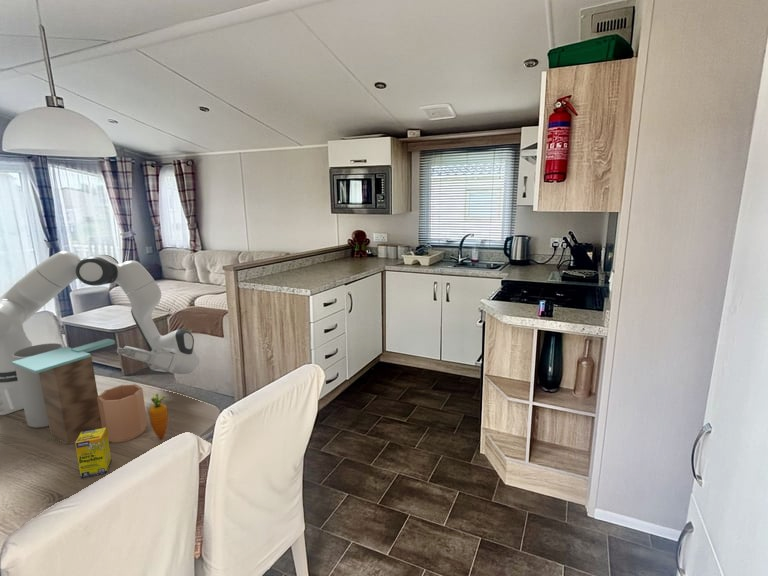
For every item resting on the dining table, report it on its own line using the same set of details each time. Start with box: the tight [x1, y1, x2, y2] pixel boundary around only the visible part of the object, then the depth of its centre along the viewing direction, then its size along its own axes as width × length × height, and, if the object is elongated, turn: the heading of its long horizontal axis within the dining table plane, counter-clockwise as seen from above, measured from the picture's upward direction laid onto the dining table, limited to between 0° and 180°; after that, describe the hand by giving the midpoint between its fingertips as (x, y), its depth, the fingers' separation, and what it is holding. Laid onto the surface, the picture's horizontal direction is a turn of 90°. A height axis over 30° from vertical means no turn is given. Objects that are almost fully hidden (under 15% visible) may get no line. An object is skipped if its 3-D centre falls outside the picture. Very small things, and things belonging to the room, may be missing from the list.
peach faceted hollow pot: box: [97, 383, 148, 444], centre depth 125 cm, size 11×11×14 cm
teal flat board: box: [11, 338, 116, 373], centre depth 123 cm, size 24×14×1 cm, turn 153°
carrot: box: [148, 393, 169, 440], centre depth 122 cm, size 5×5×15 cm
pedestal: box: [39, 356, 102, 446], centre depth 124 cm, size 10×10×26 cm
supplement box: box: [74, 427, 112, 479], centre depth 108 cm, size 6×6×11 cm
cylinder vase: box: [13, 342, 64, 429], centre depth 132 cm, size 12×12×25 cm
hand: (126, 352), depth 138 cm, fingers open, 8 cm apart
